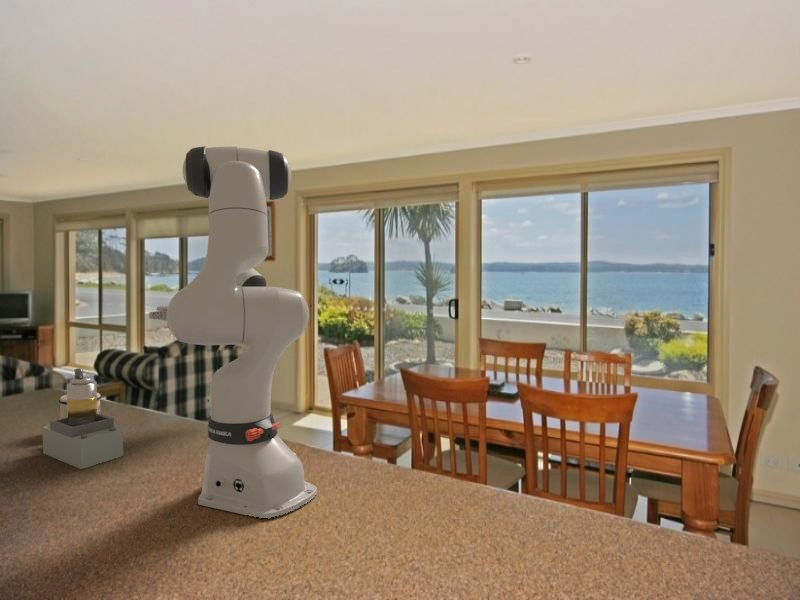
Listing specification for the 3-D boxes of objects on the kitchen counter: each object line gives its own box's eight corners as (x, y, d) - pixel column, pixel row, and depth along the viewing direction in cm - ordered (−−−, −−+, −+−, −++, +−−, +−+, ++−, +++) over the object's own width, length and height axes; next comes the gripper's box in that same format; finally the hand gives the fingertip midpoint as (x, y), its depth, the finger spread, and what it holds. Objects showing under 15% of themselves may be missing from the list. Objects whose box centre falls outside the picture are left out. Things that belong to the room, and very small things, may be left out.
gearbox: (123, 456, 117) (122, 421, 117) (81, 469, 110) (80, 431, 109) (76, 439, 128) (75, 406, 127) (34, 449, 120) (33, 415, 120)
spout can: (102, 426, 118) (102, 369, 117) (76, 433, 113) (75, 373, 112) (89, 422, 121) (88, 366, 120) (62, 428, 116) (61, 370, 115)
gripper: (184, 299, 145) (137, 301, 133) (235, 303, 134) (188, 306, 123) (185, 322, 145) (137, 326, 134) (235, 328, 135) (188, 333, 123)
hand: (162, 317), depth 128 cm, fingers open, 8 cm apart
